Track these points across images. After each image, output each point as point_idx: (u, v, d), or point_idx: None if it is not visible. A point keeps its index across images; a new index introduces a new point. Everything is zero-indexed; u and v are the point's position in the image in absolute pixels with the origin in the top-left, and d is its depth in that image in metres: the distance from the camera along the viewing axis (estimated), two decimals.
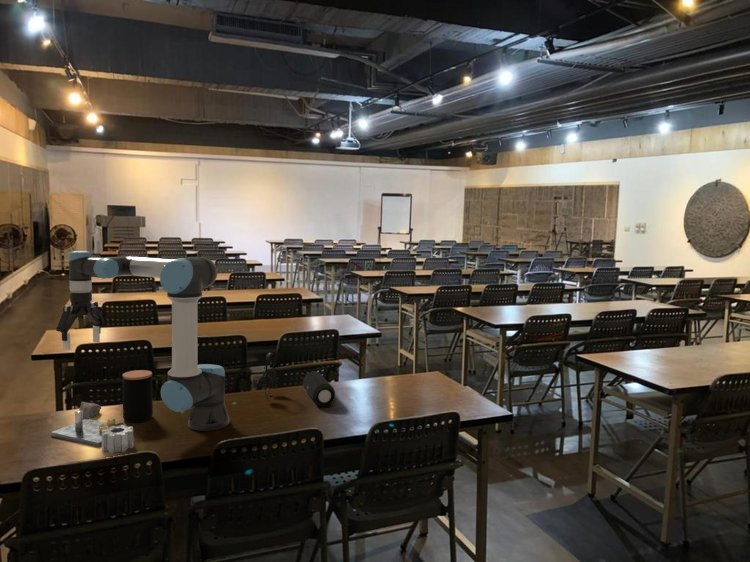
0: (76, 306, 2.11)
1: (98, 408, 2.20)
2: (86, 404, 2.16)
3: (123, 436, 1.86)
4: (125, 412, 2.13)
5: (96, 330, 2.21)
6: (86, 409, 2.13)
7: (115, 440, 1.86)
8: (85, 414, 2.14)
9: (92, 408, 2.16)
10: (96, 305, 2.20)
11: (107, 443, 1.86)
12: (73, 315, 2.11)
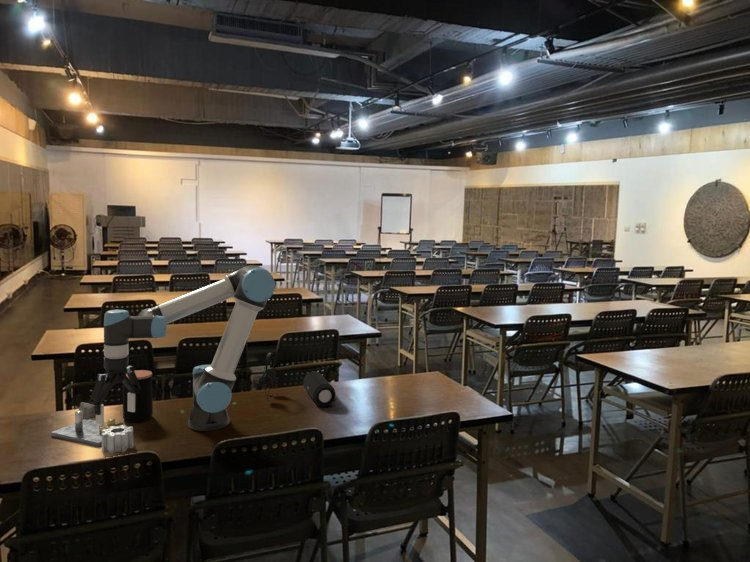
0: (111, 374, 1.84)
1: None
2: (86, 404, 2.15)
3: (123, 436, 1.86)
4: (125, 412, 2.13)
5: (131, 398, 1.94)
6: (86, 409, 2.13)
7: (115, 440, 1.86)
8: (85, 414, 2.13)
9: (92, 408, 2.16)
10: (132, 370, 1.93)
11: (107, 443, 1.86)
12: (107, 384, 1.84)
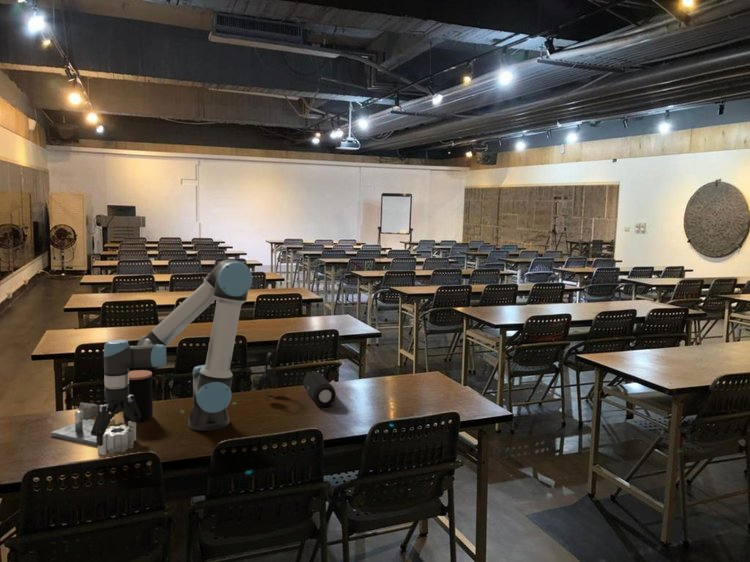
0: (112, 404, 1.85)
1: (97, 408, 2.20)
2: (86, 404, 2.15)
3: (123, 436, 1.86)
4: None
5: None
6: (86, 409, 2.13)
7: (115, 440, 1.86)
8: (85, 414, 2.13)
9: (92, 408, 2.16)
10: (133, 399, 1.94)
11: (107, 443, 1.86)
12: (109, 414, 1.85)
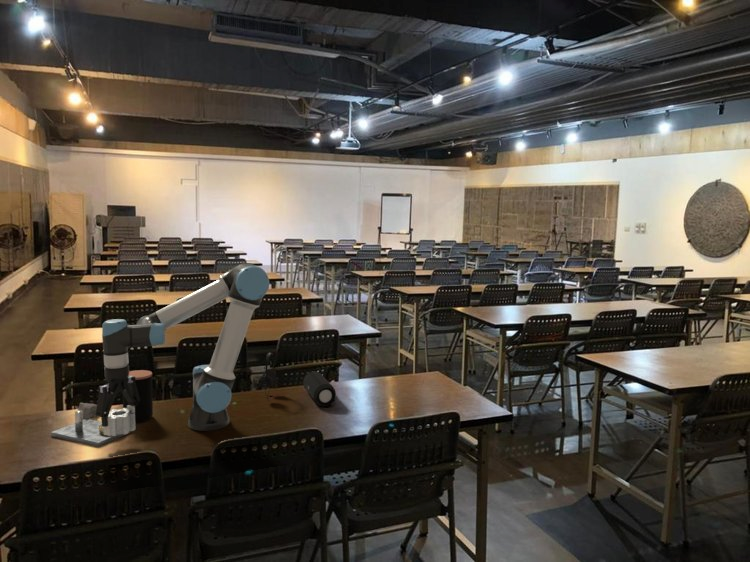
0: (112, 384, 1.85)
1: None
2: (85, 404, 2.15)
3: (125, 418, 1.86)
4: None
5: None
6: (86, 409, 2.13)
7: (117, 422, 1.86)
8: (85, 414, 2.13)
9: (92, 408, 2.16)
10: (133, 380, 1.93)
11: None
12: (110, 395, 1.85)
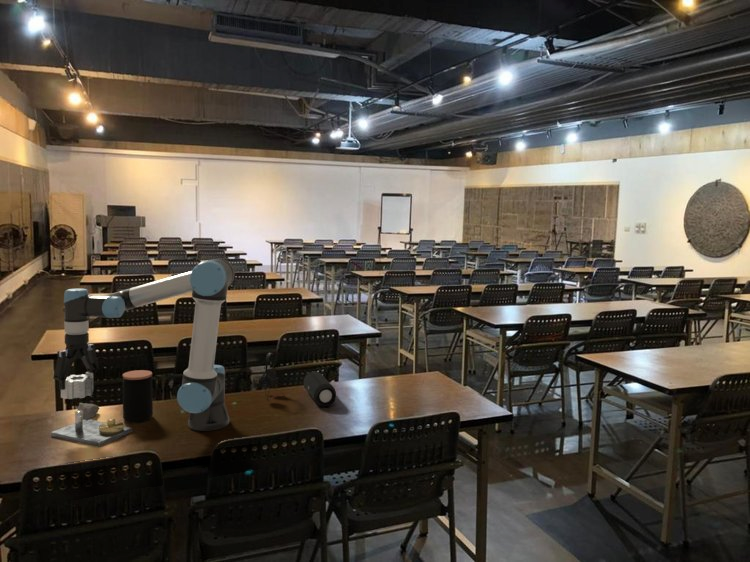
0: (71, 349, 1.94)
1: (97, 409, 2.19)
2: (85, 405, 2.15)
3: (82, 383, 1.95)
4: (125, 412, 2.13)
5: None
6: (86, 410, 2.13)
7: (74, 386, 1.95)
8: (85, 415, 2.13)
9: (91, 409, 2.16)
10: (93, 348, 2.02)
11: None
12: (69, 360, 1.94)
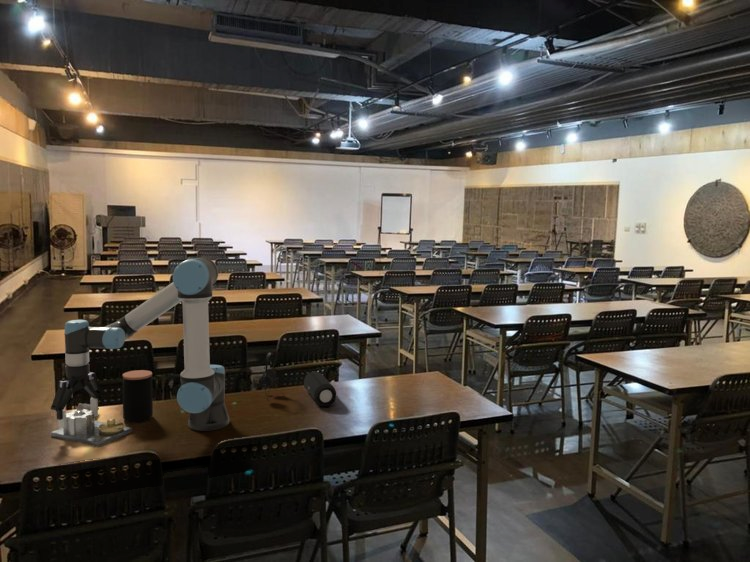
0: (72, 380, 1.95)
1: None
2: (85, 405, 2.15)
3: (83, 419, 1.96)
4: (125, 412, 2.13)
5: (94, 403, 2.05)
6: None
7: (76, 423, 1.96)
8: None
9: None
10: (94, 376, 2.04)
11: (69, 425, 1.96)
12: (69, 390, 1.95)
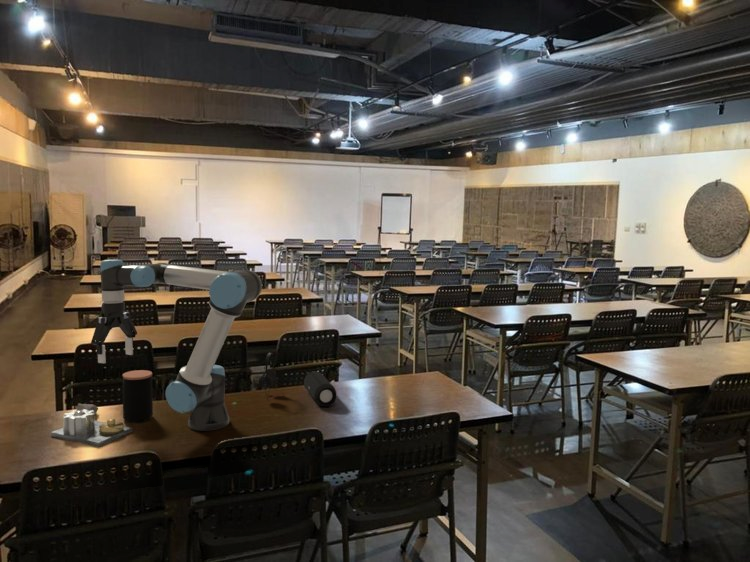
0: (110, 317, 2.01)
1: (96, 409, 2.19)
2: (85, 405, 2.14)
3: (83, 419, 1.96)
4: (125, 412, 2.13)
5: (129, 342, 2.12)
6: None
7: (76, 423, 1.96)
8: None
9: (91, 409, 2.15)
10: (128, 316, 2.10)
11: (69, 425, 1.96)
12: (107, 327, 2.01)
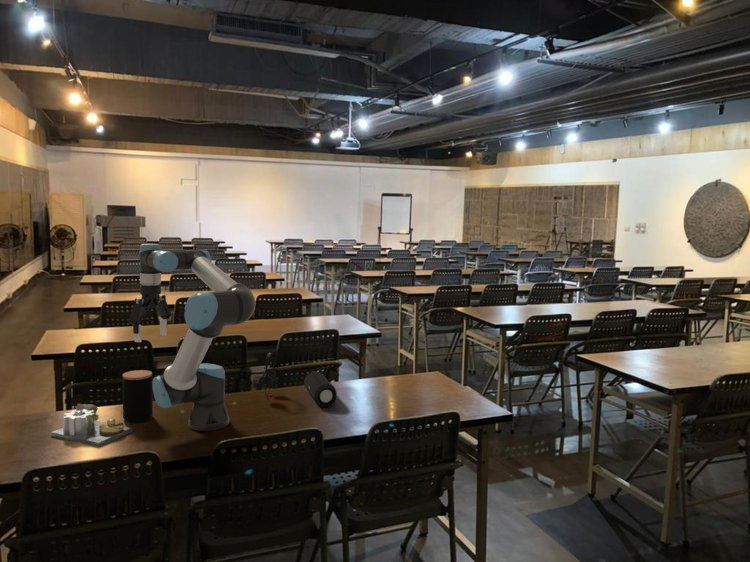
0: (147, 299, 2.11)
1: (96, 409, 2.19)
2: (85, 405, 2.14)
3: (83, 419, 1.96)
4: (125, 412, 2.13)
5: (163, 323, 2.21)
6: None
7: (76, 423, 1.96)
8: None
9: (91, 409, 2.15)
10: (164, 298, 2.19)
11: (69, 425, 1.96)
12: (144, 308, 2.10)
